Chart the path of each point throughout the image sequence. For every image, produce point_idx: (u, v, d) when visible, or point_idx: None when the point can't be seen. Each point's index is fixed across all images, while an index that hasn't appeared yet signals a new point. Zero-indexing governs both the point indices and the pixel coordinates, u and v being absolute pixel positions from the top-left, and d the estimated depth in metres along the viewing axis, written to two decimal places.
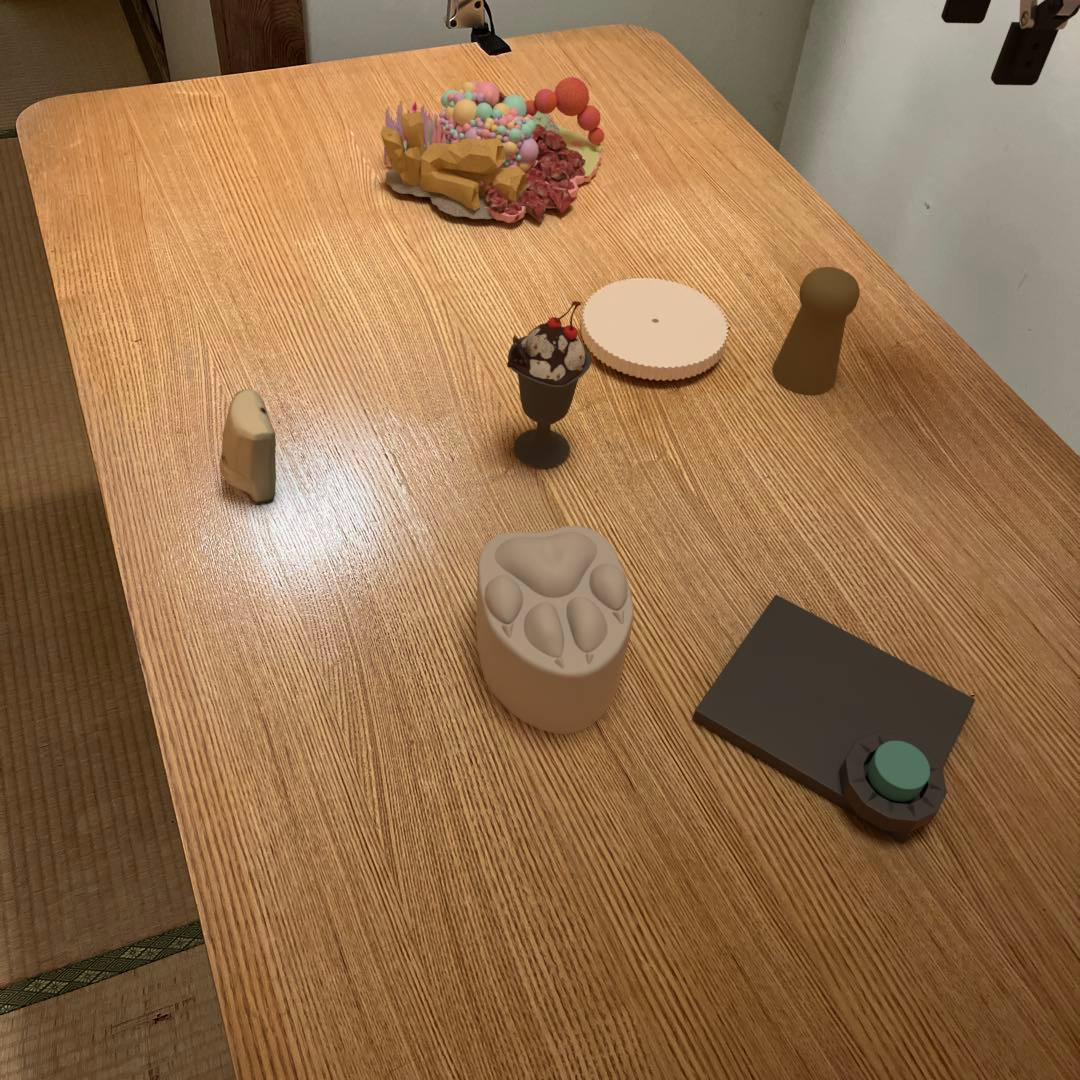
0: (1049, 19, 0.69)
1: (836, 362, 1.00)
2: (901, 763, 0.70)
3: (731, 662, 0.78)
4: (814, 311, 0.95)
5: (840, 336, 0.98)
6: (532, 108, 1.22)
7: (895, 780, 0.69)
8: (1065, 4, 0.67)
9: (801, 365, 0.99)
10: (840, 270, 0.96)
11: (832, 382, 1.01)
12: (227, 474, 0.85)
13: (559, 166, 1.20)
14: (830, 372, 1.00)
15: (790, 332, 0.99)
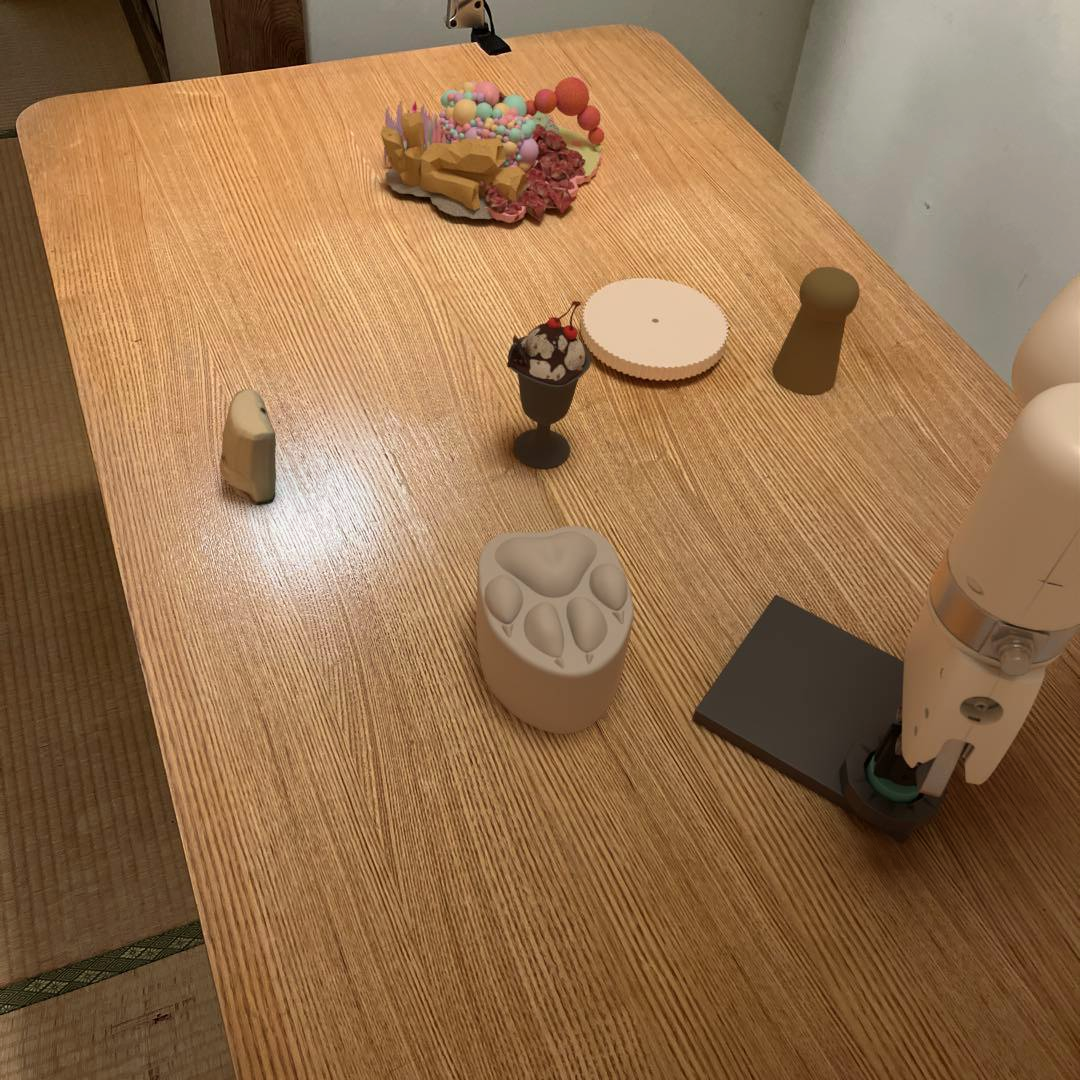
0: None
1: (836, 362, 1.00)
2: None
3: (731, 662, 0.78)
4: (814, 311, 0.95)
5: (840, 336, 0.98)
6: (532, 108, 1.22)
7: (891, 786, 0.70)
8: None
9: (801, 365, 0.99)
10: (840, 270, 0.96)
11: (832, 382, 1.01)
12: (227, 475, 0.85)
13: (559, 166, 1.20)
14: (830, 372, 1.00)
15: (790, 332, 0.99)
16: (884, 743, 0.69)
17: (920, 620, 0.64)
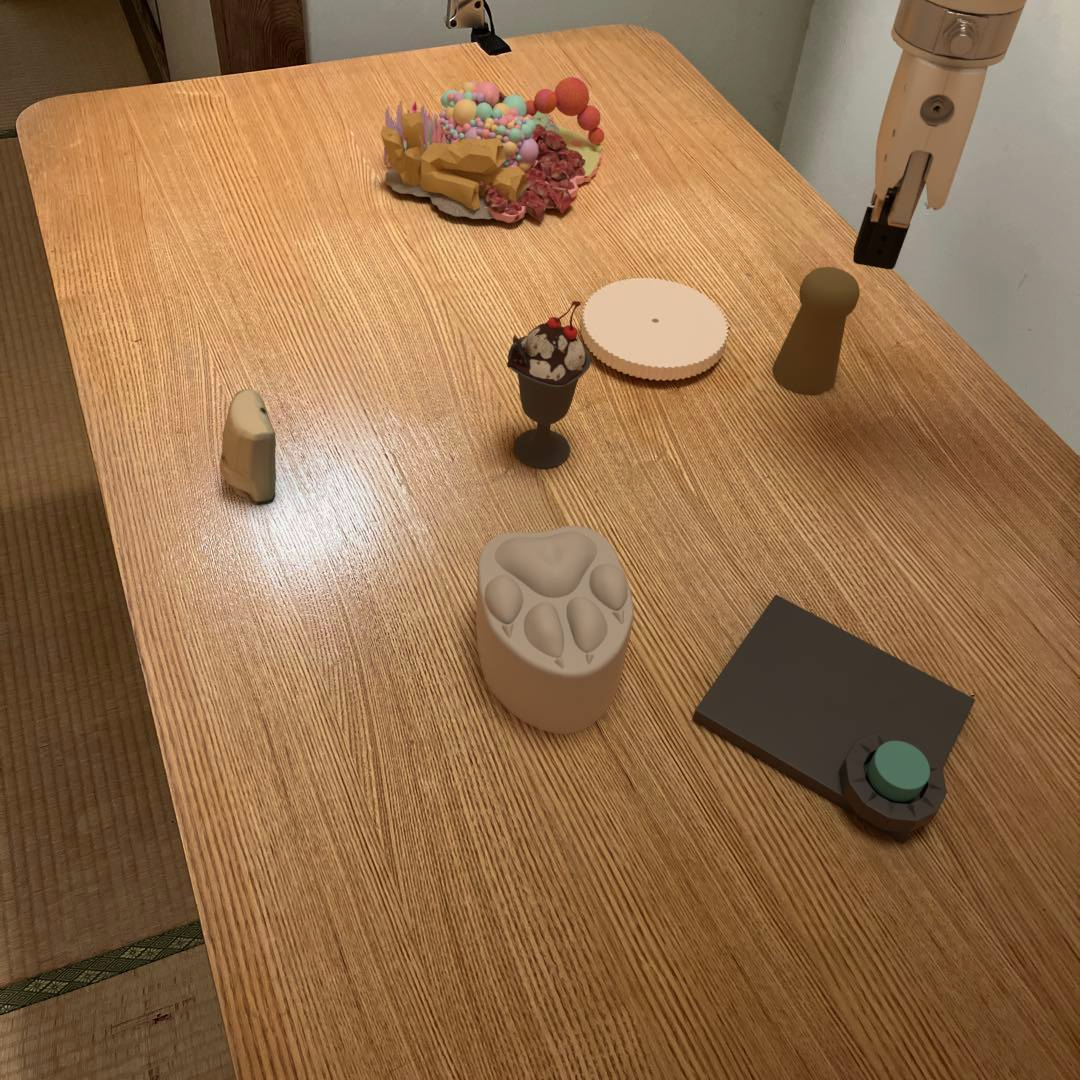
0: (886, 218, 0.78)
1: (836, 362, 1.00)
2: (901, 763, 0.70)
3: (731, 662, 0.78)
4: (814, 311, 0.95)
5: (840, 336, 0.98)
6: (532, 108, 1.22)
7: (895, 780, 0.69)
8: None
9: (801, 365, 0.99)
10: (840, 270, 0.96)
11: (832, 382, 1.01)
12: (227, 474, 0.85)
13: (559, 166, 1.20)
14: (830, 372, 1.00)
15: (790, 332, 0.99)
16: (861, 229, 0.82)
17: (888, 95, 0.78)
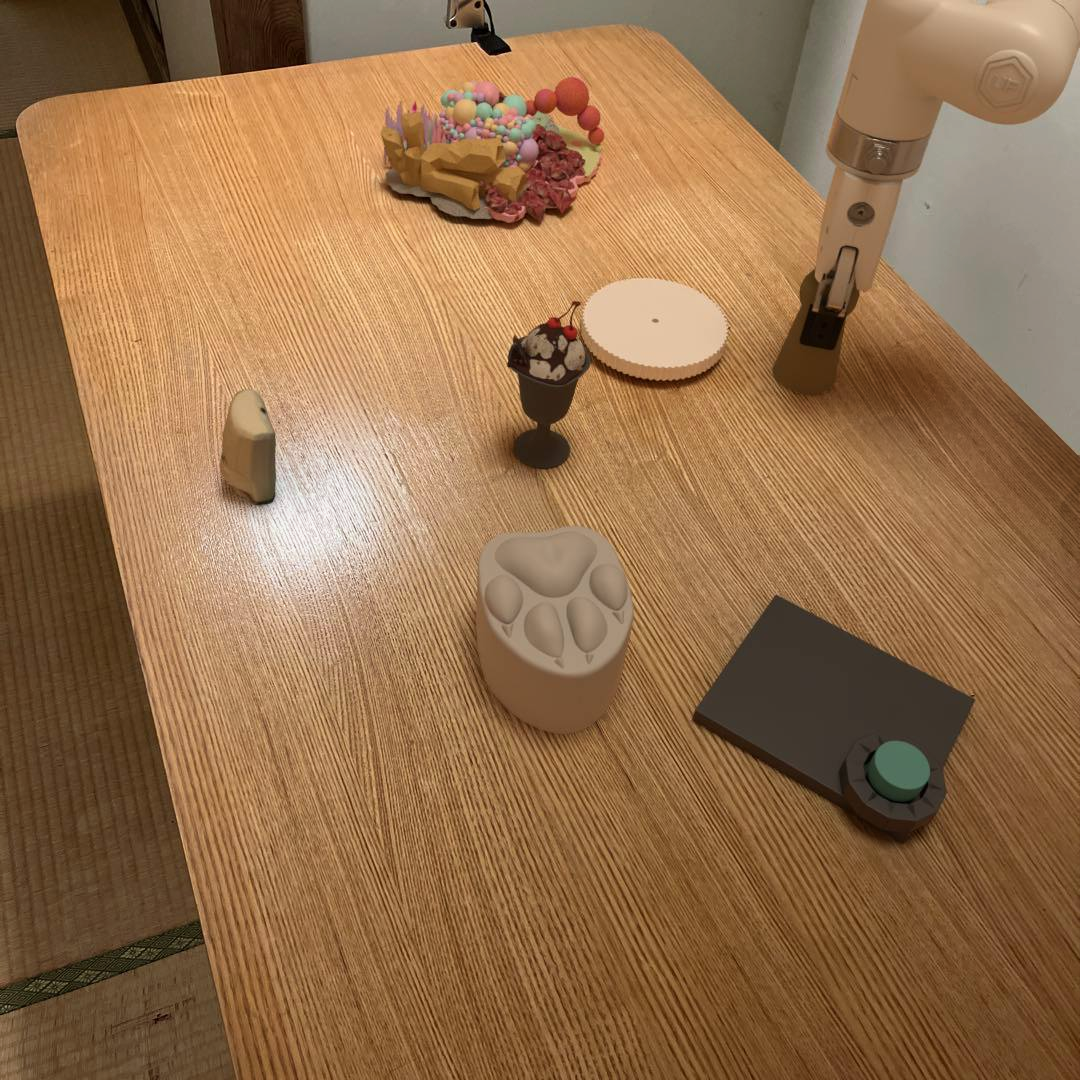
0: (824, 310, 0.91)
1: (836, 362, 1.00)
2: (901, 763, 0.70)
3: (731, 662, 0.78)
4: None
5: (840, 336, 0.98)
6: (532, 108, 1.22)
7: (895, 780, 0.69)
8: (827, 308, 0.90)
9: (801, 365, 0.99)
10: None
11: (833, 382, 1.01)
12: (227, 475, 0.85)
13: (559, 166, 1.20)
14: (830, 372, 1.00)
15: (790, 332, 0.99)
16: None
17: None
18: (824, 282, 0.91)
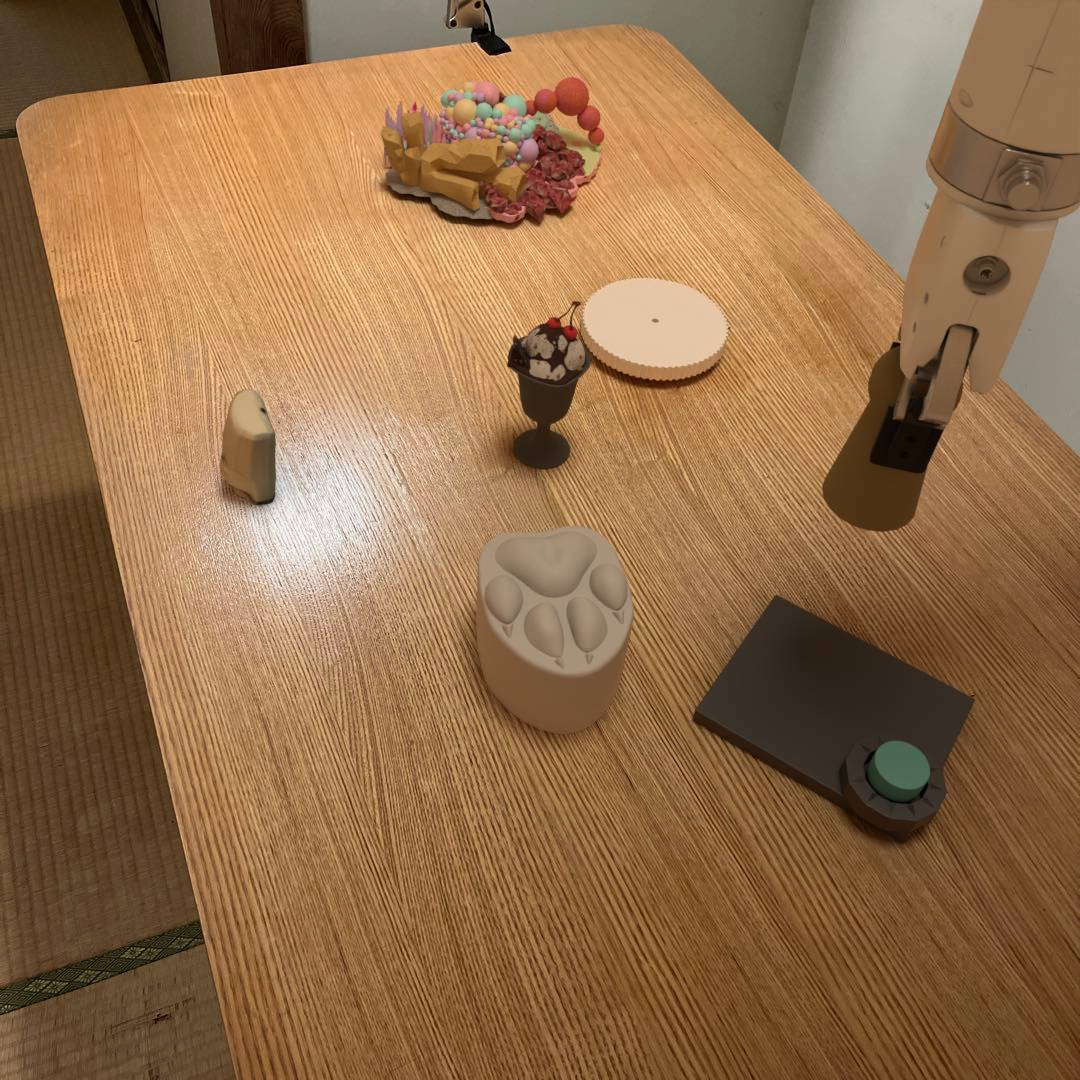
0: (915, 421, 0.58)
1: (921, 485, 0.66)
2: (901, 763, 0.70)
3: (731, 662, 0.78)
4: None
5: None
6: (532, 108, 1.22)
7: (895, 780, 0.69)
8: (921, 420, 0.56)
9: (869, 491, 0.65)
10: None
11: (914, 512, 0.68)
12: (227, 475, 0.85)
13: (559, 166, 1.20)
14: (912, 499, 0.66)
15: (852, 440, 0.66)
16: None
17: (920, 234, 0.59)
18: (915, 376, 0.57)
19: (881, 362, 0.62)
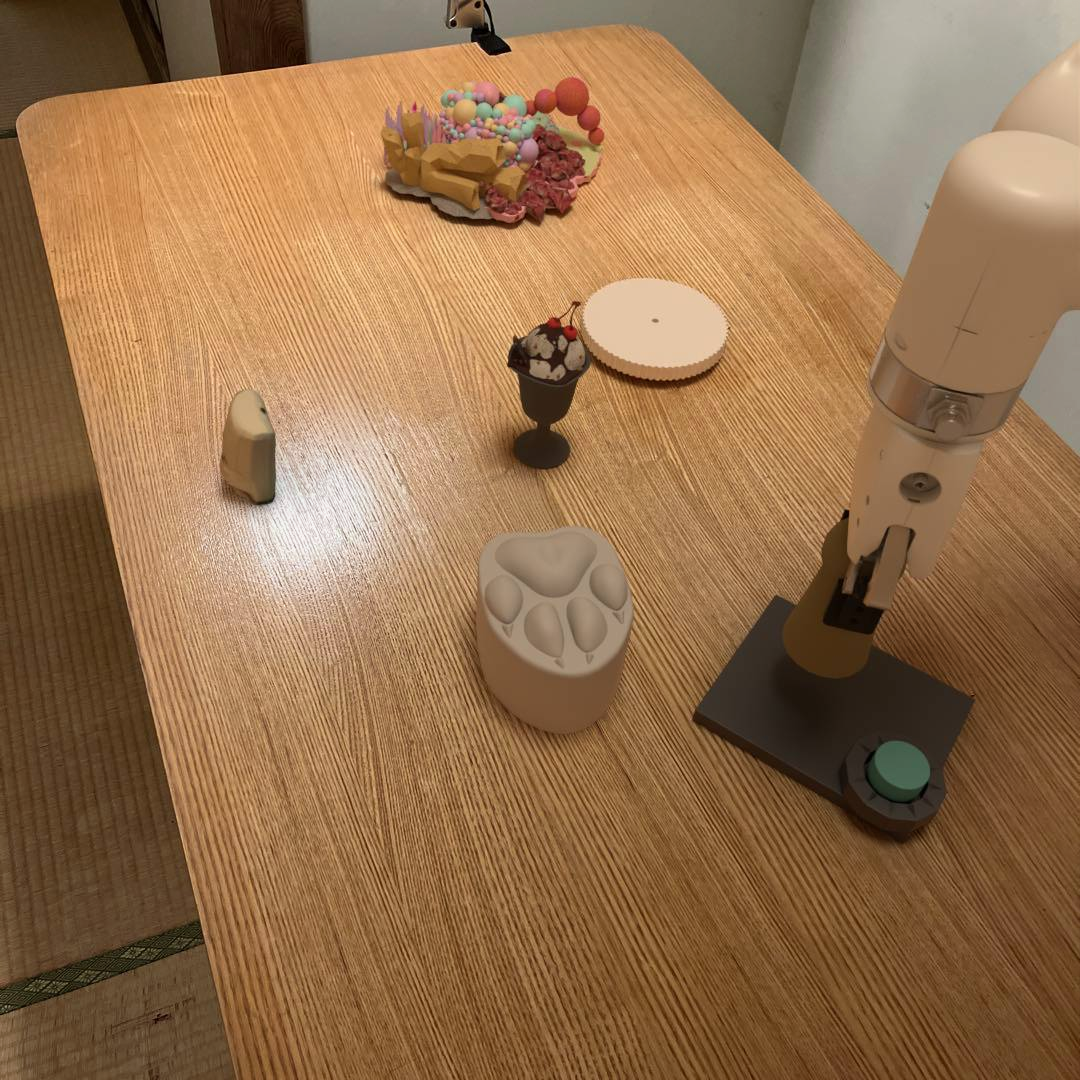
0: None
1: (872, 637, 0.71)
2: (901, 763, 0.70)
3: (731, 662, 0.78)
4: None
5: None
6: (532, 108, 1.22)
7: (895, 780, 0.69)
8: None
9: (823, 644, 0.71)
10: None
11: (866, 659, 0.73)
12: (227, 475, 0.85)
13: (559, 166, 1.20)
14: (864, 650, 0.71)
15: (808, 597, 0.71)
16: None
17: (866, 424, 0.64)
18: None
19: (832, 534, 0.67)
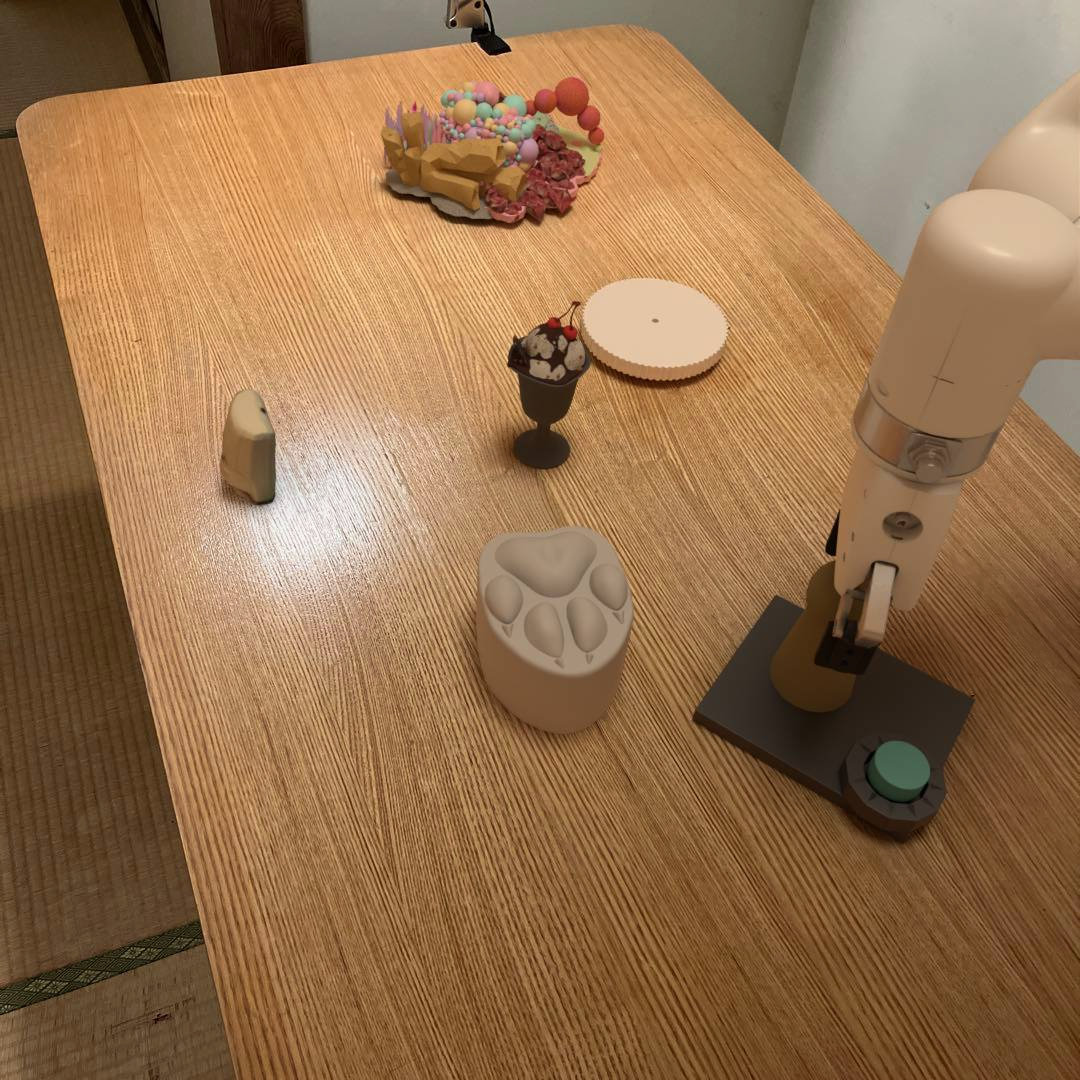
0: None
1: None
2: (901, 763, 0.70)
3: (731, 662, 0.78)
4: None
5: None
6: (532, 108, 1.22)
7: (895, 780, 0.69)
8: (857, 642, 0.62)
9: (808, 680, 0.74)
10: None
11: (850, 693, 0.76)
12: (227, 475, 0.85)
13: (559, 166, 1.20)
14: (847, 686, 0.75)
15: (793, 635, 0.74)
16: (833, 531, 0.73)
17: (853, 460, 0.66)
18: (850, 594, 0.64)
19: (816, 578, 0.70)
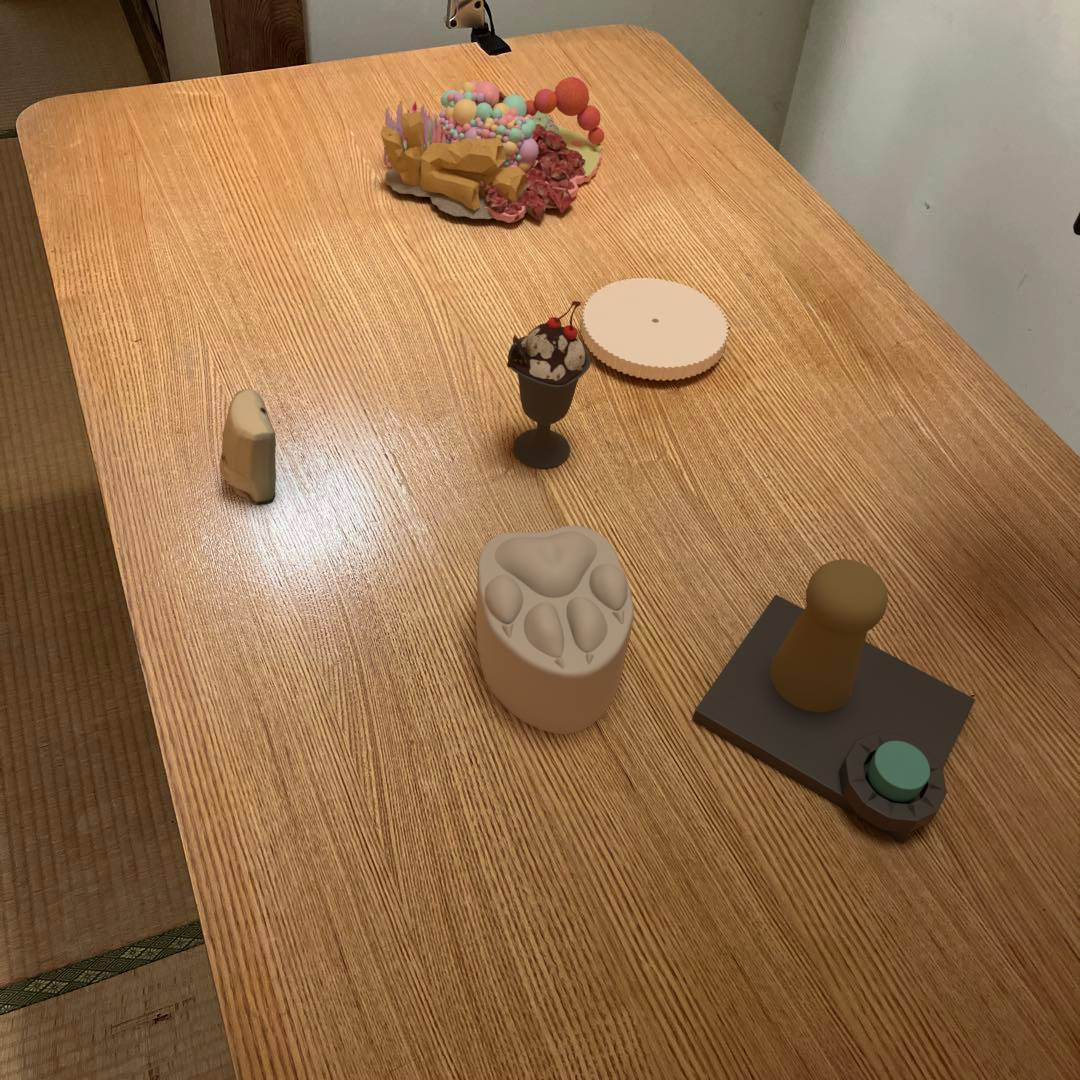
0: None
1: (855, 673, 0.75)
2: (901, 763, 0.70)
3: (731, 662, 0.78)
4: (826, 625, 0.70)
5: (861, 647, 0.72)
6: (532, 108, 1.22)
7: (895, 780, 0.69)
8: None
9: (808, 680, 0.74)
10: (861, 567, 0.70)
11: (850, 693, 0.76)
12: (227, 475, 0.85)
13: (559, 166, 1.20)
14: (847, 686, 0.75)
15: (793, 635, 0.74)
16: None
17: None
18: None
19: (816, 578, 0.70)
